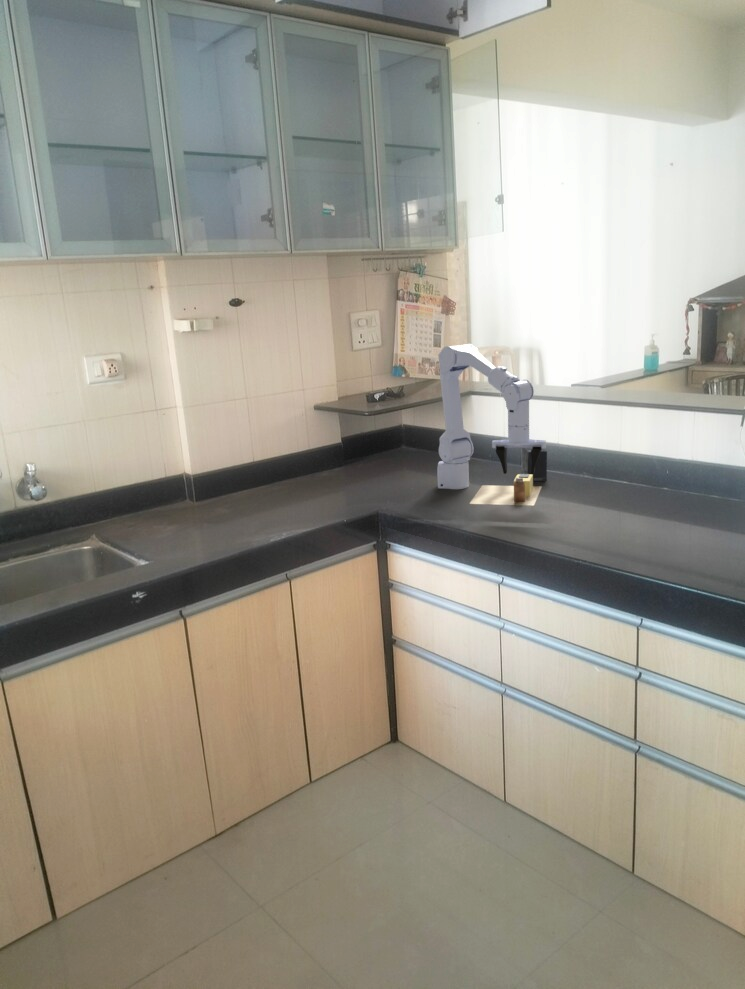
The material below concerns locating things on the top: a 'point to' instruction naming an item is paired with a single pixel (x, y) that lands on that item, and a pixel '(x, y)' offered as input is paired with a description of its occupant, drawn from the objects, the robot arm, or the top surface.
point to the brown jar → (519, 490)
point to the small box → (540, 465)
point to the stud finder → (527, 482)
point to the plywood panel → (503, 496)
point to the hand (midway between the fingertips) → (519, 473)
